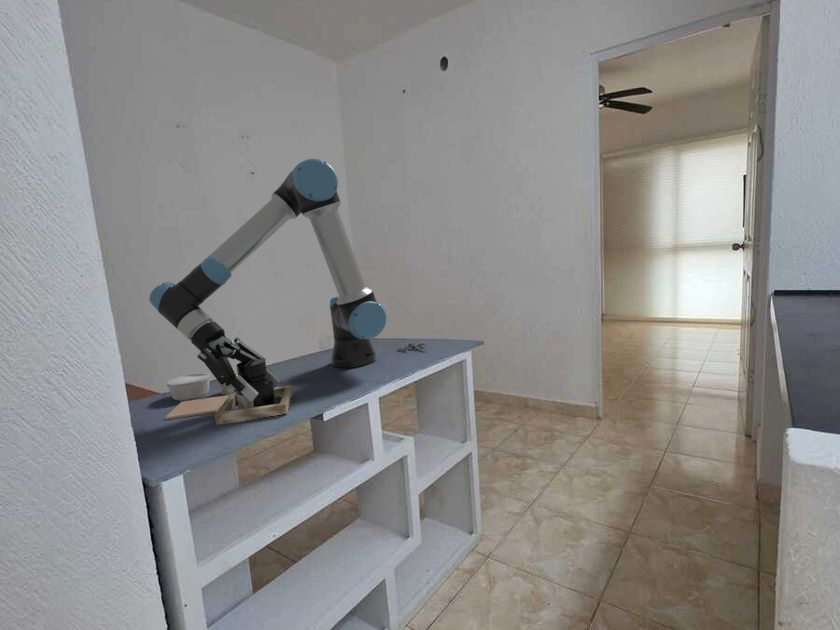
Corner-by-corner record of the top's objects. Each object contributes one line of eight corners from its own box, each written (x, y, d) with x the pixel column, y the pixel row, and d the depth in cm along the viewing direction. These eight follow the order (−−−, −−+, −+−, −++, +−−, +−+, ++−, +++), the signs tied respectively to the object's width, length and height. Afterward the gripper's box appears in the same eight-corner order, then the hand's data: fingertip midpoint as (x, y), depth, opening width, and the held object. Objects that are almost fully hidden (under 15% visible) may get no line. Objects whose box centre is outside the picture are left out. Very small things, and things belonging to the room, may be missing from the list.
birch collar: (293, 393, 119) (291, 385, 119) (287, 414, 104) (285, 404, 104) (231, 402, 117) (230, 393, 116) (216, 425, 101) (214, 415, 101)
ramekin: (216, 387, 133) (213, 370, 132) (207, 398, 122) (204, 380, 122) (177, 392, 131) (174, 376, 130) (163, 405, 120) (160, 386, 119)
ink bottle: (235, 408, 112) (228, 363, 110) (270, 399, 117) (264, 355, 115) (243, 418, 104) (236, 370, 102) (280, 408, 109) (273, 362, 107)
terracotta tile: (227, 397, 122) (227, 395, 122) (216, 412, 110) (216, 410, 110) (181, 403, 120) (181, 401, 119) (165, 419, 108) (165, 417, 108)
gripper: (223, 332, 122) (281, 387, 120) (161, 352, 101) (230, 417, 100) (237, 313, 120) (296, 368, 118) (176, 328, 99) (247, 395, 97)
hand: (266, 391), depth 109 cm, fingers closed on ink bottle, 9 cm apart
